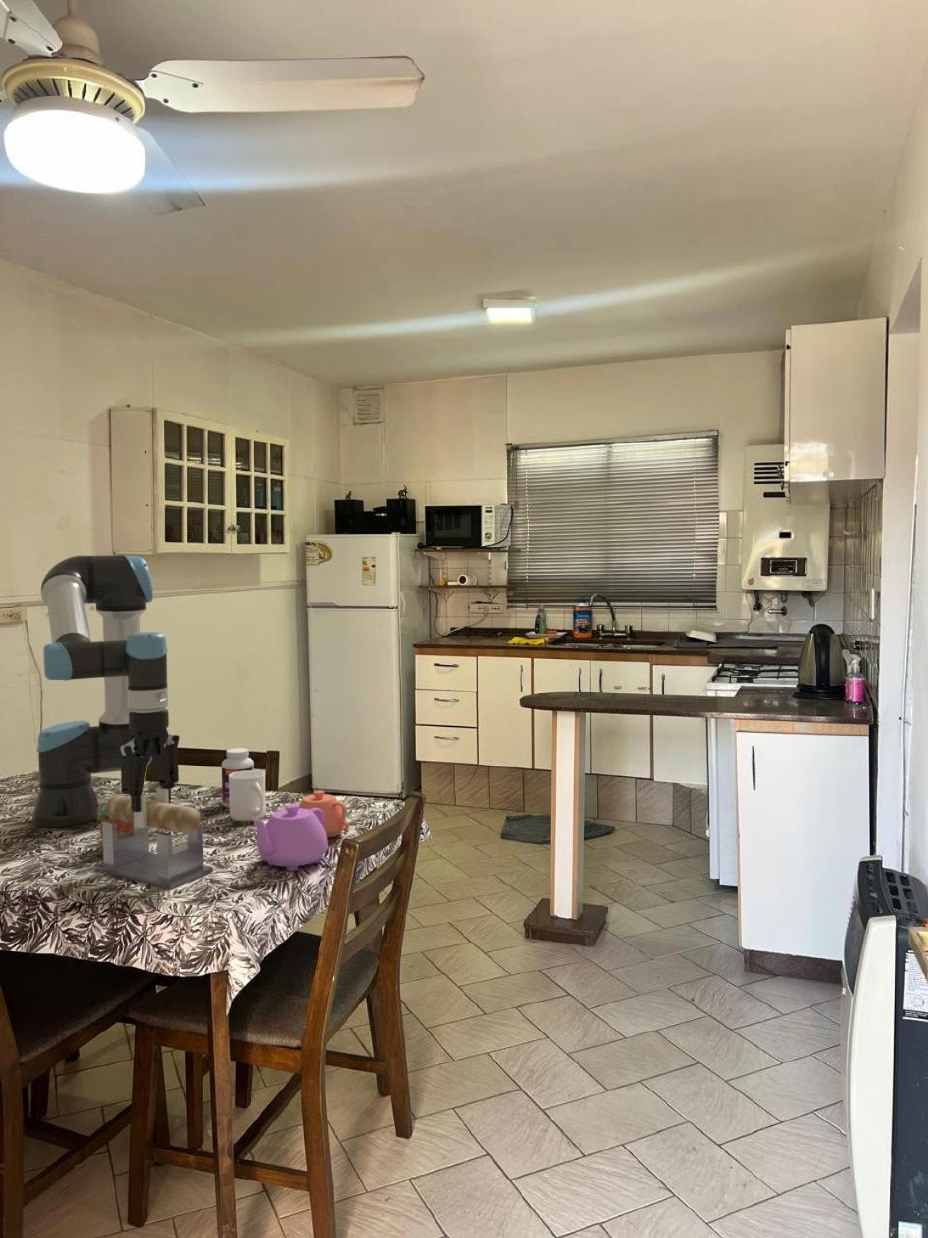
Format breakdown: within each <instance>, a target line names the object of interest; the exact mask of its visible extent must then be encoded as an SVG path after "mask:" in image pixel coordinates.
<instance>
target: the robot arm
mask: <svg viewBox="0 0 928 1238" xmlns="http://www.w3.org/2000/svg"><path fill="white" fill-rule="evenodd" d="M40 596H41V600H42V602H43V603H44V606H46V607H47V614H48V621H49V629H50V637H51V643H47V644H45V645H44V647H43V655H42V656H43V670H44V677H45V678H46V679H47V680H50V681H70V680H71V681H72V680H81V679H85V680H86V679H99V678H104V681H103V682H104V712H103V713H102V715H100V717H98V725H96V726H91V724H90V722H89V721H87V720H79V721H77V720H76V721H74V720H73V721H68V722H63V723H59V724H55V725H51V726H49V727H47V728H44V729H42V730H41V731H40V732H39V733H38V737H37V749H36V752H37V754H38V756H37V757H38V785H39V787H38V789H39V790H38V795H37V797H36V800H35V803H34V808H33V810H32V814H31V815H32V816H31V817H32V818H31V819H32V824H33V825H35V826H38V827H44V828H45V827H46V828H58V827H69V826H75V825H76V826H77V825H81V824H86V823H88V822H91V821H93V820H96V819H97V818H98V817H99V816H100V815H101V810H100V809H101V808H100V804H99V802H98V798H97V795H96V793H95V791H94V789H93V786H92V775H93V774H101V773H110V772H111V773H112V772H120V775H121V776H120V780H121V781H120V783H121V784H120V785H121V793H122V794H123V795H126V796H127V795H128V796H129V797H131V806H132V807H131V809H132V812H134V823H135V827H139V828H147V819H146V816H147V815H146V800H147V795H146V794H143V793H144V792H143V791H144V786H145V780H146V775H147V768H148V766H149V765H150V764H151V762H152V760H153V765H154V769H155V772H156V776H157V779H158V780H157V781H158V784H159V786H160V787H157V788H156V790H155V791H156V802H161V803H167V804H171V801H172V794H171V793H172V790H171V789H174V788H175V785H176V784H177V783H178V782H179V781H180V778H179V777H180V776H179V753H178V751H179V744H180V743H179V742H180V736H179V734H178V735H177V734H169V732H168V727H169V725H170V723H169V721H170V720H169V717H170V716H169V715H170V714H169V710H168V709H167V707H168V706H169V694H168V693H169V691H168V689H169V688H168V664H167V663H168V647H167V638H166V637H167V636H166V635H165V634H164V633H162V632H152V631H151V632H150V631H149V632H141V615H143V613H145V612H146V610H147V604H149V603H151V602H153V597H154V596H153V586H152V578H151V574H150V569H149V567H148V564H147V561H146V559H145V558H143V557H141V556H138V555H126V554H123V555H122V554H121V555H117V554H116V555H115V554H114V555H113V554H112V555H111V554H110V555H75V556H71V557H69V558H66V559H63V560H61V561H60V562H58V563H57V564H55V565H54V566H53V567H52V568H50V570H48V572H46V574H45V575H44V578H43V580H42V582H41V586H40ZM85 604H89V605H90V604H95V611H96V613H98V614H99V615H100V617H101V618H102V637H103V639H102V640H101V641H100V640H99V641H92V639H91V632H90V629H89V623H88V617H87V612H86V607H85Z"/></svg>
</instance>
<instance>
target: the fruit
mask: <svg viewBox="0 0 928 1238" xmlns="http://www.w3.org/2000/svg"><path fill="white" fill-rule="evenodd" d="M97 818H98V819H102V820H101V821H100V827H99V832H100V836H101V840H103V828H102V822H104V821H107V820H108V821H113V822H117V835H118V836H120V835H123V834H126V833H129V832H132V831H134V823H130V822H125V821H119V820H114V819H111V818H109V817H108V816H107V814H106V810H105V811H103V812H100V815H99V817H97Z"/></svg>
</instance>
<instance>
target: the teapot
mask: <svg viewBox="0 0 928 1238" xmlns="http://www.w3.org/2000/svg"><path fill="white" fill-rule="evenodd" d="M315 812H317V813H318V818H317V817H316V815H315V814H314V813H315ZM251 820H252V821H251V822H253V823H254V824H255V826H256V839H255V840H256V841H255V842H256V847H257V849H258V850H257V851H258V854H259V855H260V856H261V858H263V860H264V861H266V862H267V865H268V866H279V867H286V871H288V872H296V871H298V870H299V866H300V867H301V866H304V865H308V864H317V863H319V862H320V859H321V858H322V856H323V855H324V854H325V853H326V851H327V850H328V847H329V844H328V838H327V837H326V836H327V833H326V831H325V830H324V828H323V823H324V813H323V811H322V810H320V809H318V808H311V809H310V810H308V809H302V808H299V804H296V803H290V804H287V805H285V809H279V810H277V811H275V812H274V813H272V814H271V816H270V817H269V818H268V820H267V822H266V824H265V822H264V821H263V820H262V819H258V820H257V819H251Z"/></svg>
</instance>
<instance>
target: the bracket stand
mask: <svg viewBox="0 0 928 1238" xmlns="http://www.w3.org/2000/svg"><path fill="white" fill-rule="evenodd" d="M102 828H103V839H102V849H103V851H102V853H103V855H102V856H103V857H102V858H103V862H101V863H98V864H94V871H96V870H98V871H97V872H100V871H102V872H101V873H104V872H106V873H105V874H107V873H109V875H111V874H113V875H112V876H115V875H116V876H115V877H120V878H123V879H128V880H131V881H134V882H139V883H142V884H146V885H150V886H154V887H158V888H163V889H165V890H168V891H170V890H172V889H175V888H178V887H179V886H180V887H181V886H183V885H184V884H187V883H191V882H192V881H194V880H197V879H200V878H201V877H204V876H206V875H208V874H212V873H213V871H214V869H213V866H211V865H210V866H209V865H205V864H204V844H203V840H204V839H203V823H201V822H200V824H199V827H198V828H197V830H196V831H195V832H193V833H191V834H186V835H187V842H185V843H183V844H180V845H177V846H175V847H173V834H172V833H168V832H164V831H160V832H157V833H156V853H154V852H150V843H149V842H150V841H149V840H150V839H149V826H147V828H139V827H135V823H134V831H132V832H129V833H126V834H123V835H120V836H118V835H117V822H113V821H108V820H107V821H104V822H102Z"/></svg>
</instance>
